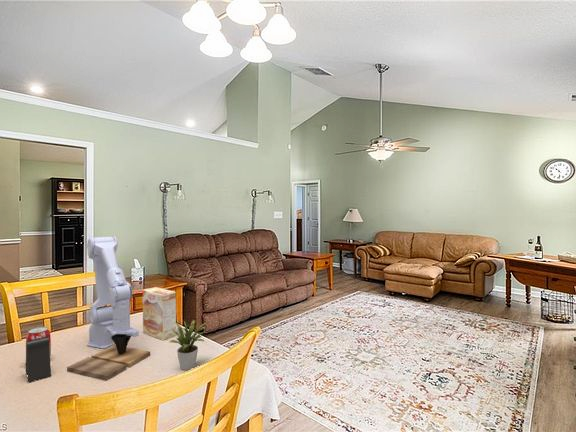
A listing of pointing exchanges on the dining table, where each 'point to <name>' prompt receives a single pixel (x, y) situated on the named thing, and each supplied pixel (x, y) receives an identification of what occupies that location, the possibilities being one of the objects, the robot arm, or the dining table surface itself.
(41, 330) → the soda can
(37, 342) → the phone stand
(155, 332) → the coffeecake box
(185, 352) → the house plant
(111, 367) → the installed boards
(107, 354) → the teak plank
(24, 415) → the dining table surface
